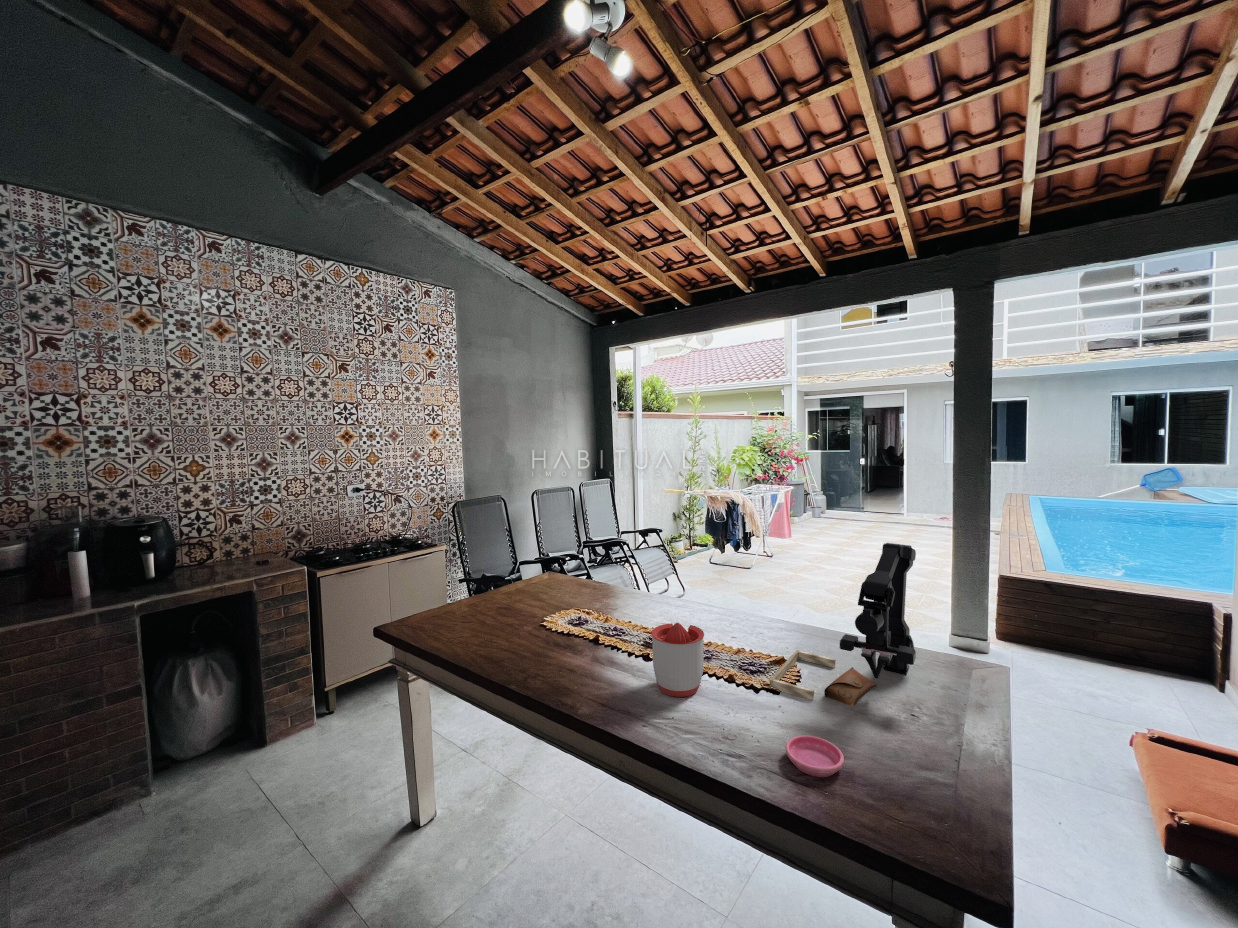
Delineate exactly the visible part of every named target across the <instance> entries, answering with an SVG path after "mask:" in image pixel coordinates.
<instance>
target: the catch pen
mask: <svg viewBox="0 0 1238 928" xmlns="http://www.w3.org/2000/svg"><path fill="white" fill-rule="evenodd" d="M798 660H799V661H805V662H809V663H813V664H817V665H820V666H825V667H829V668H833V669H836V665H837V663H836V660H837V659H836V658H832V657H827V656H824V655H819V654H814V653H810V652H806V651H803V650H798V649H796V650H794V652H793V653H792V654H791V656H789V658H788V659H787V660H785V662H784V663H783V664H782V665H781V666H780V668H778V670H777V671H776V672H775V673H774V674H773V675H772V676H771V677H770V679H769V688H770V687H773V688H776V689H779V690H780V691H779V690H778V691H779V692H783V693H786V694H790V695H793V696H797V697H799V698H804V699H807V700H809V701H814V699H815V690H813V689H810V688H807V687H802V686H800V685H796V684H792V683H789V682H785V681H781V680H782V679H783V678H784V676H786V674H787V673H788V672H789V671H788V670H791V668H792V667H793V666H794V665H795V664H796V663H797V662H798ZM787 671H788V672H787ZM786 672H787V673H786ZM782 677H783V678H782ZM781 678H782V679H781ZM780 679H781V680H780ZM779 680H780V681H779Z"/></svg>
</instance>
